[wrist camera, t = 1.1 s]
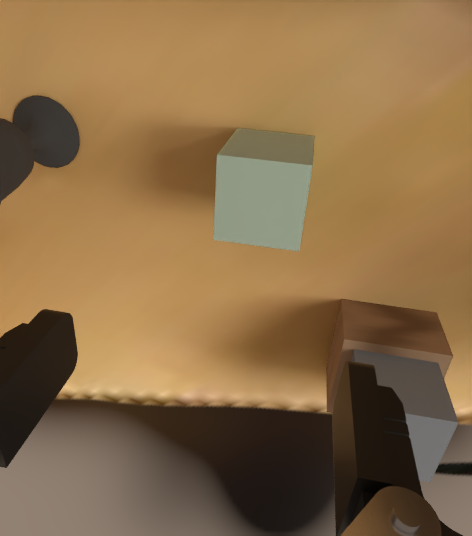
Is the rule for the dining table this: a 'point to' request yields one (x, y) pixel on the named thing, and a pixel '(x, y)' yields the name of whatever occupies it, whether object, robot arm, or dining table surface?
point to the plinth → (384, 337)
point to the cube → (418, 404)
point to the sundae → (35, 140)
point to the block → (263, 188)
